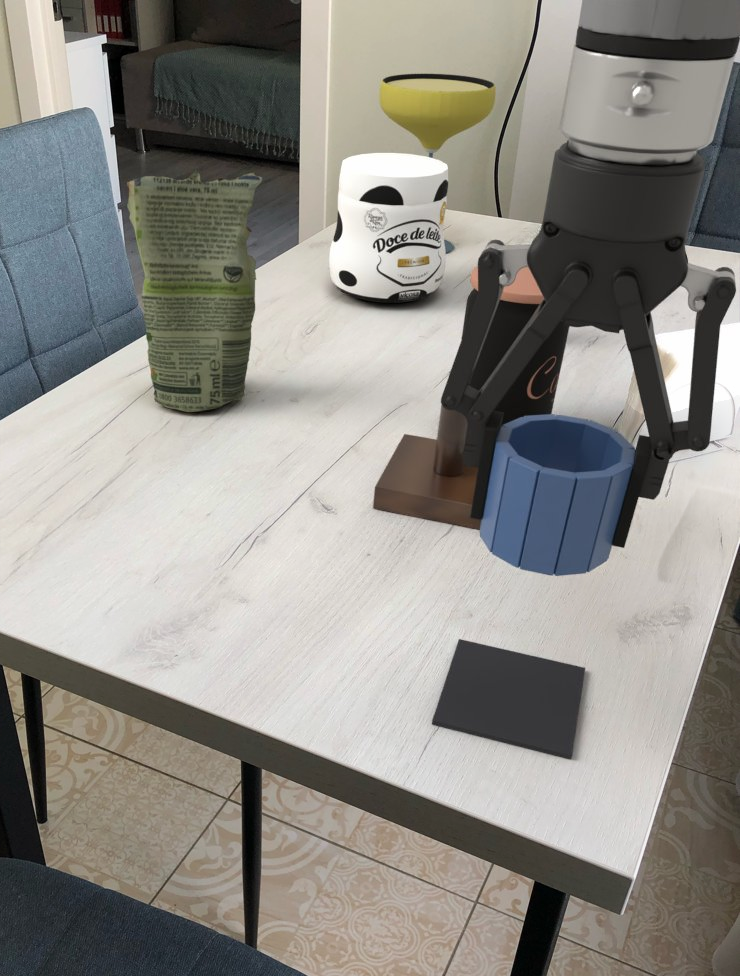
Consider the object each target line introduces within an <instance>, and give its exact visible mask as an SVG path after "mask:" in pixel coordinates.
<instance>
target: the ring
mask: <svg viewBox="0 0 740 976" xmlns="http://www.w3.org/2000/svg"><path fill="white" fill-rule="evenodd" d="M635 449H636V446H634V445H633V444H632V443H631V442H630V441H629V440H628V439H627V438H626V437H624V436H623V434H622V433H621V432H619V431H618V430H616V429H613V428H611V427H609V426H606V425H603V424H601V423H599V422H596V421H595V420H592V419H591V420H589V419H587V418H582V417H581V418H580V417H575V416H568V415H562V414H556V415H555V413H552V414H546V415H531V416H524V417H520V418H518V419H516V420H513V421H511V422H509V423H506V424H504V425H502V427H500V430H499V433H498V435H497V438H496V441H495V447H494V452H493V458H492V464H491V470H490V476H489V481H488V487H487V493H486V499H485V505H484V510H483V516H482V520H481V526H480V529H479V532H478V533H479V537H480V539H481V540H482V542H483V543H484V545H485V546H486V548H487V550H488V551H489V553H491V555H493V556H494V557H496V558H498V559H500V560H502V561H503V562H505V563H507V564H509V565H510V566H513V567H514V568H516V569H518V568H519V569H520V570H522V571H527V572H532V573H537V574H541V575H546V576H551V577H552V576H555V577H562V576H571V575H583V574H587V573H590V572H592V571H593V570H595V569H596V568H599V567H600V566H601V565H603V564H605V563H606V562H607V561H608V559H609V558H610V555H611V551H612V548H613V546H612V543H613V539H614V535H615V532H616V528H617V524H618V521H619V517H620V513H621V510H622V506H623V502H624V499H625V495H626V492H627V488H628V484H629V481H630V477H631V473H632V470H633V466H634V460H635V451H636V450H635Z"/></svg>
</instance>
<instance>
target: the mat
mask: <svg viewBox="0 0 740 976" xmlns="http://www.w3.org/2000/svg"><path fill="white" fill-rule="evenodd" d="M585 672H586V667H583V666H579V665H574V664H571V663H567V662H562V661H558V660H553V659H550V658H549V659H548V658H544V657H540V656H535V655H530V654H526V653H522V652H518V651H514V650H510V649H505V648H501V647H496V646H492V645H487V644H483V643H478V642H474V641H470V640H466V639H462V638H458V641H457V644H456V646H455V650H454V653H453V656H452V659H451V662H450V665H449V668H448V671H447V674H446V678H445V681H444V683H443V687H442V689H441V692H440V695H439V699H438V701H437V705H436V707H435V711H434V713H433V717H432V720H431V725H434V726H438V727H442V728H446V729H450V730H454V731H458V732H461V733H466V734H470V735H474V736H478V737H481V738H485V739H489V740H493V741H497V742H501V743H505V744H509V745H513V746H517V747H521V748H525V749H529V750H533V751H537V752H539V753H544V754H549V755H552V756H557V757H560V758H564V759H568V760H571V759H572V757H573V752H574V747H575V746H574V745H575V739H576V731H577V726H578V718H579V712H580V705H581V699H582V691H583V685H584V679H585Z"/></svg>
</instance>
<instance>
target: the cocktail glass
mask: <svg viewBox="0 0 740 976" xmlns="http://www.w3.org/2000/svg"><path fill="white" fill-rule="evenodd" d="M378 96H379V97H378V98H379V105H380V109H381V110H382V112H383V113H384V114H385V115H386V116H387V117H388V118H389V119H390V120H391V121H392V122H394V123H395V124H396V125H398V126H400V127H401V128H403V129H404V130H406V131H407V132H409V133H411V134H412V135H413V136H414V137H416V138H417V139H418V140H419V142H420V144H421V146H422V148H423V149H424V151H425V152H426V153H428V157H430V158H433V156H434V154H435V153H437V152H439V151H440V149H441V147H442V146H443V145H444V144H445V143H446V141H448V140H449V139H451V138H452V137H454V136H456V135H457V134H460V133H462V132H464V131H466V130H469V129H471V128H472V127H474V126H476V125H478V124H479V123H481V122H482V121H484V120H485V119H486V118H487V117H488V116H489V115H490V113H491V112H492V110H493V108H494V106H495V102H496V85H495V83H494V82H492V81H490V80H487V79H485V78H480V77H475V76H467V75H460V74H459V75H458V74H450V73H449V74H446V73H405V74H404V73H403V74H395V75H389V76H386V77H384V78H382V80H381V82H380V87H379V95H378ZM433 159H434V158H433ZM444 244H445V251H446V254H448V253H450V252H452V251H453V249H454V244H453V243H452V242H451V241H449V240H447V239H445V238H444Z"/></svg>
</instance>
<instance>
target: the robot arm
mask: <svg viewBox="0 0 740 976" xmlns="http://www.w3.org/2000/svg"><path fill="white" fill-rule="evenodd" d="M579 12H580V13H579V18H578V25H577V29H576V35H575V41H574V42H575V43H574V44H573V49H572V55H571V60H570V66H569V72H568V77H567V82H566V88H565V94H564V99H563V103H562V104H563V105H562V111H561V115H560V121H559V127H558V129H559V131H560V132H561V133H562V135H563V136H564V137H565V138H567V140H566V142H564V143H563V144H561V145H560V146H559V148H558V149H556V151H554V156H553V161H552V167H551V172H550V176H549V177H550V178H549V184H548V188H547V194H546V200H545V206H544V211H543V217H542V222H541V226H540V230H539V232H538V233H537V235H536V236H535V237H534V238H533V239H532V241H531V243H529V244H505V243H504V242H503V241H502V240H501V239H492V240H490V241H489V242H488V243H487V244H486V246H485V247H484V249H483V250H482V252H481V254H480V255H479V257H478V258H477V259H478V260H477V267H478V294H477V297H476V300H475V303H474V306H473V309H472V311H471V314H470V317H469V320H468V323H467V326H466V329H465V331H464V334H463V337H462V336H461V340H460V343H459V346H458V349H457V352H456V355H455V358H454V361H453V363H452V367H451V368H450V372H449V375H448V377H447V381H446V382H445V383H446V384H445V386H444V388H443V392H442V394H441V398H440V405H441V404H442V406H443V407H444V408H445V409H447V410H456V411H458V412H460V413H462V414H463V415H464V416H465V417H466V419H467V431H466V438H465V445H464V451H463V462H464V466H470V467H475V468H478V472H477V479H476V485H475V491H474V497H473V503H472V509H471V515H470V518H474V519H479V520H482V516H483V510H484V505H485V499H486V493H487V487H488V481H489V476H490V470H491V464H492V458H493V452H494V447H495V441H496V438H497V435H498V433H499V430H500V427H501V426H502V420H503V414H504V412H499V411H494V409H495V408H496V407H497V405H498V404H499V402H500V401H501V400H502V398H503V397H504V396H505V394H506V393H507V392H508V390H509V389H510V387H511V386H512V385H513V383H514V382H515V381H516V379H517V378H518V376H519V375H520V374H521V372H522V371H523V370H524V368H525V367H526V366H527V364H528V363H529V361H530V360H531V359H532V357H533V356H534V355H535V353H536V352H537V350H538V349H539V348H540V346H541V345H542V344H543V342H544V341H545V340H546V339H547V338H548V337H549V336H550V334H551V333H552V332H553V330H554V329H555V327H556V326H557V325H558V323H559V322H560V321H562V322H564V323H563V326H570V327H569V328H584V327H594V328H595V329H598V330H601V331H603V332H606V333H614V334H620V332H621V331H623V335H624V339H625V343H626V348H627V351H628V352H629V356H630V359H631V363H632V368H633V372H634V376H635V380H636V381H635V382H636V384H637V389H638V395H639V397H640V403H641V406H642V411H643V415H644V416H643V417H644V419H645V423H646V424H645V425H646V428H647V432H648V435H642V434H639V435H638V439H637V442H636V446H635V450H636V451H635V460H634V466H633V470H632V473H631V477H630V481H629V484H628V488H627V492H626V495H625V499H624V502H623V506H622V510H621V513H620V517H619V521H618V524H617V528H616V532H615V535H614V539H613V543H612V547H617V548H623V549H625V547H626V543H627V539H628V536H629V533H630V529H631V526H632V523H633V520H634V519H633V518H634V515H635V511H636V509H637V504H638V501H639V498H641V499H647V500H651V501H654V500H655V499H657V497H658V496H659V495H660V493H661V490H662V487H663V483H664V479H665V477H666V473H667V470H668V467H669V463H670V460H671V459H672V458H673V456H674V454H676V453H677V452H680V451H686V450H691V451H693V452H703V451H705V450H706V449H707V448H708V447H709V445H710V442H711V432H712V423H713V410H714V400H715V399H714V398H715V390H716V389H715V387H716V377H717V366H718V355H719V346H720V345H719V344H720V334H721V325H722V323H723V321H724V318H725V317H726V314H727V313H728V311H729V308H730V307H731V304H732V302H733V300H734V298H735V296H736V293H737V286H736V284H737V283H736V275H735V272H734V270H733V269H732V268H731V267H728V266H721V267H718V268H716V269H715V270H713V269H711V268H706V267H703V266H700V265H697V264H692V263H689V257H688V254H687V251H686V242H687V237H688V234H689V230H690V227H691V222H692V219H693V215H694V212H695V208H696V204H697V200H698V196H699V192H700V188H701V186H702V182H703V178H704V174H705V170H706V167H707V166H706V163H704V162H703V161H704V160H703V157H702V155H700V154H699V153H697V152H699V151H700V150H702V149H704V148H706V147H708V146H709V145H710V144H712V143H713V140H714V137H715V134H716V129H717V126H718V121H719V118H720V114H721V110H722V107H723V103H724V100H725V95H726V92H727V89H728V84H729V80H730V77H731V73H732V69H733V65H734V61H735V57H736V54H737V52H738V48H739V44H740V0H581V7H580V11H579ZM524 267H529V269H530V271H531V273H532V275H533V277H534V279H535V281H536V283H537V285H538V287H539V289H540V291H541V293H542V295H543V297H544V299H543V301H542V302H541V303H540V305H539V306H538V308H537V309H536V311H535V313H534V314H533V316H532V317H531V319H530V320H529V322H528V323H527V324H526V326H525V327H524V329H523V330H522V331H521V333H520V334H519V336H518V337H517V339H516V340H515V341H514V343H513V344H512V346H511V347H510V348H509V350H508V351H507V353H506V354H505V356H504V357H503V358H502V360H501V361H500V363H499V364H498V365H497V367H496V368H495V370H494V371H493V373H492V374H491V375H490V377H489V378H488V380H487V381H486V383H485V384H484V385H483V387H482V388H481V390H480V391H478V390H476V389H474V388H472V387H470V386H469V382H470V380H471V377H472V374H473V372H474V369H475V366H476V363H477V361H478V358H479V355H480V352H481V350H482V347H483V344H484V342H485V339H486V336H487V333H488V331H489V328H490V325H491V322H492V320H493V317H494V314H495V312H496V309H497V306H498V303H499V301H500V298H501V295H502V292H503V289H504V287H506V286H509V285H511V284H512V283H513V282H514V281H515V279H516V277H517V274H518V271H519V270H520V269H522V268H524ZM680 287H683V288H684V289H685V290H686V291H687V293H688V295H687V306H688V308H689V309H690V310H691V311H692V312H695V313H696V314H695V321H694V323H695V324H694V333H693V335H694V336H693V347H692V348H693V349H692V360H691V361H692V362H691V375H690V388H689V401H688V413H687V420H681V421H674V417H673V413H672V409H671V404H670V399H669V394H668V390H667V385H666V380H665V376H664V371H663V367H662V362H661V357H660V353H659V348H658V344H657V339H656V335H655V329H654V327H655V326H654V320H653V316H652V312H653V311H654V310H655V309H656V308H657V307H659V306H660V305H661V303H663V302H664V301H665V300H666V299H667V298H669V296H671V295H672V294H673V293H674V292H675V291H676V290H678V289H679V288H680Z"/></svg>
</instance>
